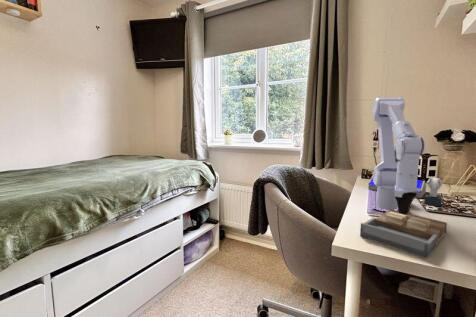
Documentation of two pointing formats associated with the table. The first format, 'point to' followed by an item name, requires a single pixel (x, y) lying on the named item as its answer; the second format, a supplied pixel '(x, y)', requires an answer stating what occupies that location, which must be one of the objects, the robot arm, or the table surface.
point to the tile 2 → (418, 223)
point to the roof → (420, 185)
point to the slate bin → (398, 239)
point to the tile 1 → (395, 218)
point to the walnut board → (434, 228)
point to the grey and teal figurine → (433, 192)
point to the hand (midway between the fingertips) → (403, 213)
